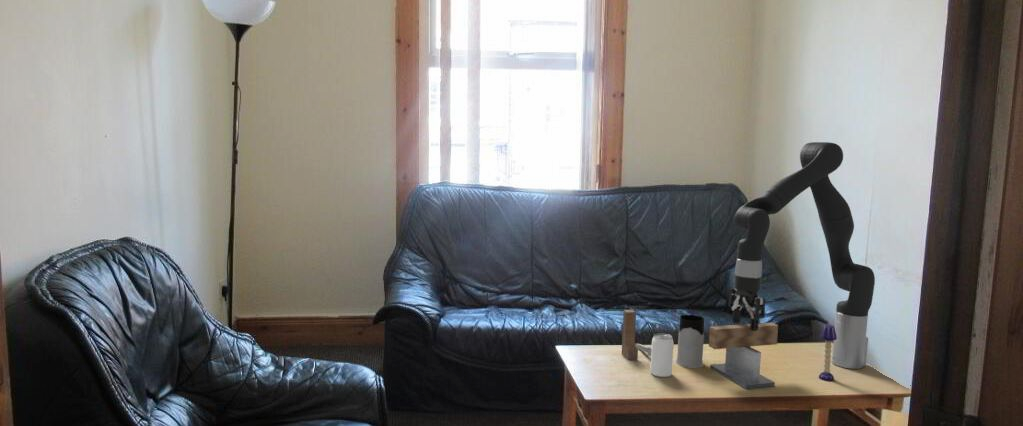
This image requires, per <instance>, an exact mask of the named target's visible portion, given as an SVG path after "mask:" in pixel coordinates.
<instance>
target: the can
mask: <svg viewBox="0 0 1023 426" xmlns="http://www.w3.org/2000/svg"><path fill="white" fill-rule="evenodd" d="M674 342H675V341H674V340H673V335H671V334H668V333H659V332H658V333H654V334H653V337H652V340H651V347H652V349H651V356H650V367H649V369H650V370H649V371H650V372H649V373H650V374H651V375H652V376H654V377H657V378H669V377H671V376H672V375H673V364H674Z"/></svg>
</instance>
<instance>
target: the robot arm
mask: <svg viewBox="0 0 1023 426" xmlns="http://www.w3.org/2000/svg"><path fill="white" fill-rule="evenodd" d="M799 152H800V154H799V161H800V165H801V168H800V169H799V170H797V171H795V172H793V173H791V174H790V175H787V176H785V177H782V179H779V180H778V181H776V182H775V183H774V184H773V185H771V186H769V188H768V189H766V190H765V191H764V192H763V193H762V194H761V195H760V196H757V197H756V198H753V199H751V200H750V201H748V202H747V203H745V204H744V205H742V206H741V207H739V208H737V211H736V212H735V214H734V217H733V221H734V224H735V226H736V227H737V228H738V229H740V230H742V231H747V232H748V234H747V236H746V237H745V238H743V239H740V240H739V241H738V243H737V253H736V261H735V271H734V284H733V285H734V288H733V287H731V288H729V294H728V307H729V308H731V311H732V323H733V324H739V323H740V322H741V310H742V308H745V309H746V311H747V312H748V313H749V315H750V323H749V324H750V330H751V331H757V330H758V325H759V323H760V319H764V318H765V315H766V314H765V313H766V312H765V311H766V299H765V298H766V297H759V296H758V292H760V290H761V287H762V275H763V264H762V263H763V262H762V261H763V260H762V259H763V248H764V247H763V246H764V244H765V241H766V238H767V236H768V233H769V231H770V230H769V229H770V226H771V220H770V219H771V218H770V215H776V214H778V213H779V212H780V211H782V210H783V209H784V208H785V207H786V206H787V205H788V204H789V203H791V201H793V200H794V199H795V198H796V197H797V196H799V195H800V194H802V193H803V192H804V191H805V190H807V189H808V188H810V190H811V193H812V196H813V197H812V198H813V200H814V203H815V207H816V209H817V214H818V219H819V222H820V225H821V229H822V231H823V235H824V238H825V239H824V240H825V242H826V247H827V251H828V254H829V261H830V267H831V274H832V279H833V281H834V284H835V285H836V286H837V288H838V289H841V290H843V291H846V292H849V293H848V297H847V300H841V301H838V302H837V304H836V309H835V310H836V311H835V320H834V321H835V322H834V327H835V332H836V336H837V339H836V340H833V345H832V346H833V347H832V354H831V357H832V358H831V363H832V364H833V365H835V366H837V367H841V368H845V369H850V370H852V369H853V370H856V369H857V370H859V369H863V368H864V367H866V365H867V357H868V354H867V353H868V346H869V345H868V344H869V337H867V329H868V318H869V311H870V309H871V306H872V304H873V303H872V302H873V296H874V290H875V284H876V283H875V282H876V279H875V277H876V276H875V273H874V270H873V269H872V268H871V267H869V266H866V265H862V264H858V263H855V262H854V261H853V259H852V257H851V252H850V246H849V245H850V241H851V238H852V236H853V233H854V229H855V222H854V219H853V215H852V211H851V207H850V205H849V203H848V202H847V201H846V199H845V198H844V197H843V195H842V194H841V193H840V191H838V189H837V188H836V187H835V186H834V184H833V183H832V181H831V179H830V177H829V175H831V174H833V172H835V171H837V170H838V169H839V168H840V167H841V165H842V164H843V160H844V151H843V148H842V147H841V146H840V145H839V144H838V143H834V142H830V141H829V142H827V141H825V142H824V141H822V142H821V141H816V142H814V141H813V142H811V141H810V142H807V143H805V144H804V145H803V146H802V148H801V150H800V151H799Z"/></svg>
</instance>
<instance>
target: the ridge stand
mask: <svg viewBox="0 0 1023 426" xmlns="http://www.w3.org/2000/svg"><path fill="white" fill-rule="evenodd" d="M761 359H762V351H760V350H757V349H756V348H753V347H752V346H750V347H737V348H725V361H724V362H725V363H715V364H710V365H709V366H710V367H709V368H710V369H711V370H712V371H714V372H716V373H717V374H719V375H721V376H723V377H724V378H726V379H727V380H730V381H731V382H733V383H734V384H736V385H738V386H740V388H741V387H742V389H744V390H752V389H761V388H762V389H763V388H774V387H776V386H775V385H776V382H775V381H773V380H772V379H769V378H768V377H766V376H764V375H762V374H760V373H761V361H762V360H761Z"/></svg>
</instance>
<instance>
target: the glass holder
mask: <svg viewBox="0 0 1023 426" xmlns="http://www.w3.org/2000/svg"><path fill="white" fill-rule="evenodd" d="M704 328H705V318H704V317H703V316H700V315H696V314H695V315H694V314H682V315H680V316H679V329H678V337H677V339H678V340H677V355H676V359H675V364H676V365H678V366H681V367H684V368H689V369H690V368H691V369H693V368H694V369H699V368H702V367H704V363H703V358H704V357H703V355H704V354H703V353H704V340H705V339H704V338H705V332H704V330H705V329H704Z"/></svg>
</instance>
